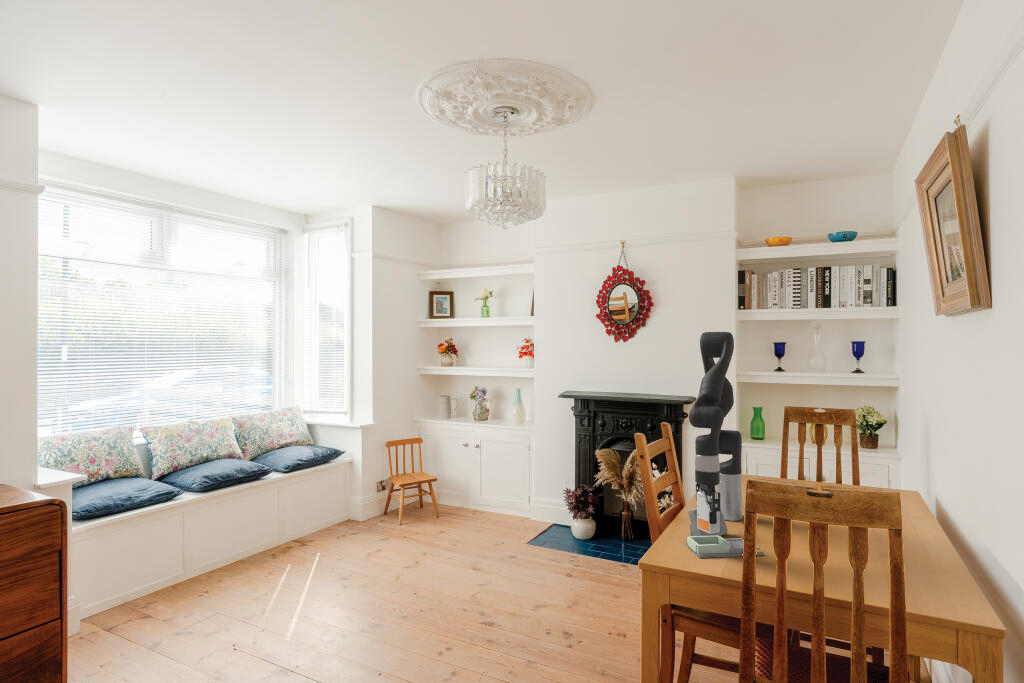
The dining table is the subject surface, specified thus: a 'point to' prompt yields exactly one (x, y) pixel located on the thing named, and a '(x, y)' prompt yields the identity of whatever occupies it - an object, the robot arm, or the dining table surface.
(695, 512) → the digital clock
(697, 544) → the grey green docking tray
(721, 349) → the robot arm
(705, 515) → the skincare box
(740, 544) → the cradle plate
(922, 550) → the dining table surface
